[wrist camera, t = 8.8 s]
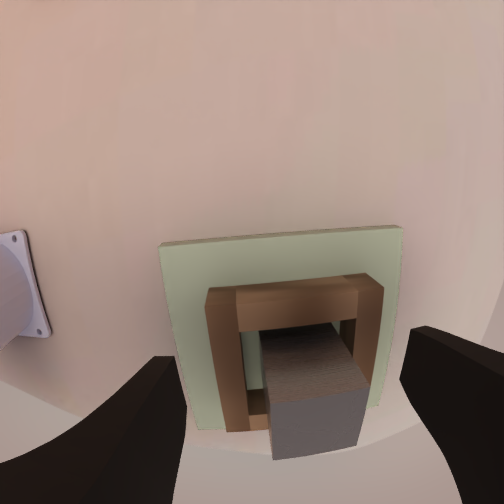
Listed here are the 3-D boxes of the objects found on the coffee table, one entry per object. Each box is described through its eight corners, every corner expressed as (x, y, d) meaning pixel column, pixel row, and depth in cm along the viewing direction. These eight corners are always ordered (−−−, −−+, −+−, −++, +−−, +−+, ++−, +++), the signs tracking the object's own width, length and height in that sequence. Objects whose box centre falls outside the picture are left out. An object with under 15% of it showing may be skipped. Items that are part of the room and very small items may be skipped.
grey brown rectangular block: (261, 374, 18) (272, 460, 11) (257, 320, 17) (270, 403, 10) (322, 366, 18) (356, 445, 11) (324, 312, 17) (370, 386, 10)
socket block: (199, 420, 20) (195, 454, 16) (162, 242, 16) (144, 259, 13) (373, 398, 20) (389, 426, 17) (394, 225, 17) (426, 236, 13)
